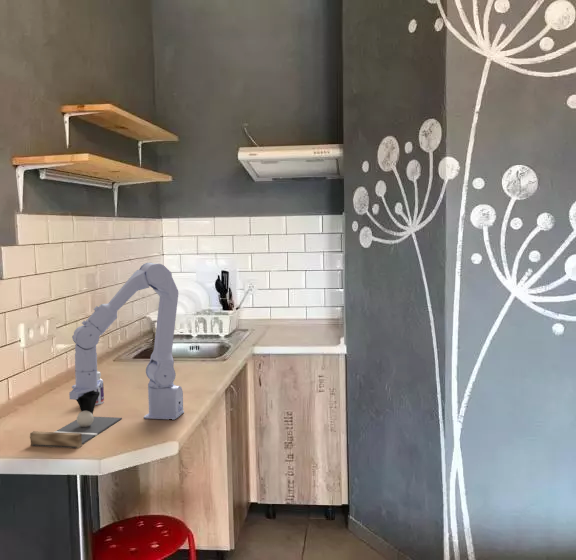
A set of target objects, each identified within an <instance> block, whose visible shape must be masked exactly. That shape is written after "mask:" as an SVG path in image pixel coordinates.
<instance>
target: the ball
mask: <svg viewBox="0 0 576 560" xmlns="http://www.w3.org/2000/svg"><path fill="white" fill-rule="evenodd" d="M94 417H95V416H94V414H92V413H91V412H90V411H82V412H81V411H80V412H79V413H78V414H77V416H76V420H77V423H78V424H79V425H80V426H81V427H88V426H90V425H91V424H92V423H93V420H94Z"/></svg>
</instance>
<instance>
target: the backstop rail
mask: <svg viewBox="0 0 576 560" xmlns="http://www.w3.org/2000/svg"><path fill="white" fill-rule="evenodd" d="M29 437H30V438H29V439H30V446H31V447H46V445H47V446H52V448H54V447H53V445H54V446H71V448H70V449H73V448H72V446H75V448H74V449H80V448H81V447H83V445H82V438H81V434H80V433H59V432H55V431H35V430H33V431H32V432H30V434H29ZM34 444H37V445H36V446H34ZM38 445H40V446H38ZM42 445H44V446H42ZM76 447H77V448H76ZM64 448H67V447H64ZM68 448H69V447H68Z"/></svg>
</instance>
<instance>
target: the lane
mask: <svg viewBox="0 0 576 560" xmlns="http://www.w3.org/2000/svg"><path fill="white" fill-rule="evenodd" d="M93 417H94V420H93V423H92V424H91V425H90V426H88V427H81V426H80V425H79V424H78V423H77V419H75V420H73V421H71V422H70V423H68V424H65V426H62V427H60V428H58V429H57V430H56V431H55V430H54V432H59V433H80V434H81V438H82V446H83V445H84V444H85V443H87V442H89V441H90V440H92V439H93V438H95V437H96V436H97V435H98V436H99V434H101V433H103V432H104V431H106V430H107V429H109V428H110V427H112V426H113V425H115V424H116V423H119V421H121V420H122V419H123V418H122V417H115V416H114V417H111V416H109V417H108V416H93ZM36 445H37V444H34V446H33V447H49V448H51V447H52V446H47V445H46V446H44V445H42V446H40V445H38V446H36ZM65 447H67V448H68V447H69V448H70V449H78V448H77V447H76V448H75V446H72V448H71V446H54V445H53V447H52V448H65Z"/></svg>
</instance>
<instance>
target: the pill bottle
mask: <svg viewBox="0 0 576 560" xmlns="http://www.w3.org/2000/svg"><path fill="white" fill-rule="evenodd" d="M101 377H102V374H101V372H100V371H99V370H97V380H103V379H102V378H101ZM94 391H96V392H100V395H99V397H98V399H97V401H96V403H95V406H97V405H103V403H105V392H104V386H103V387H101V388H98V389H96V390H94Z"/></svg>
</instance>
